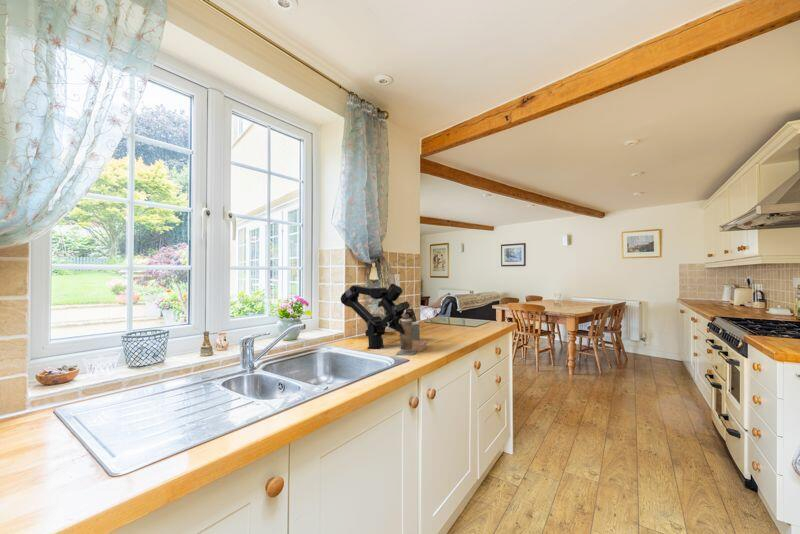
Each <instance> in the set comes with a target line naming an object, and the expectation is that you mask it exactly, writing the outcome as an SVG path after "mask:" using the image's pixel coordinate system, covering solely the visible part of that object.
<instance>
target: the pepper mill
mask: <svg viewBox="0 0 800 534" xmlns="http://www.w3.org/2000/svg"><path fill="white" fill-rule="evenodd" d="M412 319H413V318H412ZM412 319H411V318H409V314H405V313H403V314H402V318H401V319H400V320H399V324H400V325H401V327H402V329H403V330H404V332H405V333H404V334H402V333H400V332H399V339H400V340H399V342H400V344H399V345H400V346H399V347H400V349H399V350H410V349H412V322H413V320H412Z"/></svg>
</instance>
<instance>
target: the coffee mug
mask: <svg viewBox="0 0 800 534" xmlns="http://www.w3.org/2000/svg"><path fill="white" fill-rule="evenodd" d="M412 329H413V331H412V340H413V341H421V335H420V334H421V333H420V323H419V322H417V321H415V322H414V321H412Z"/></svg>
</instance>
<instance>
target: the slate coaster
mask: <svg viewBox="0 0 800 534" xmlns="http://www.w3.org/2000/svg"><path fill="white" fill-rule="evenodd" d="M417 352H418V351H417V350H402V349H399V351H398V352H396V356H415V354H416V353H417Z"/></svg>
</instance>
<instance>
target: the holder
mask: <svg viewBox="0 0 800 534" xmlns="http://www.w3.org/2000/svg"><path fill="white" fill-rule="evenodd" d="M427 347H428V343H427V340H420V341H413V340H412V349H410V350H417V352H423V351H424V350H425V349H426V348H427Z"/></svg>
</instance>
